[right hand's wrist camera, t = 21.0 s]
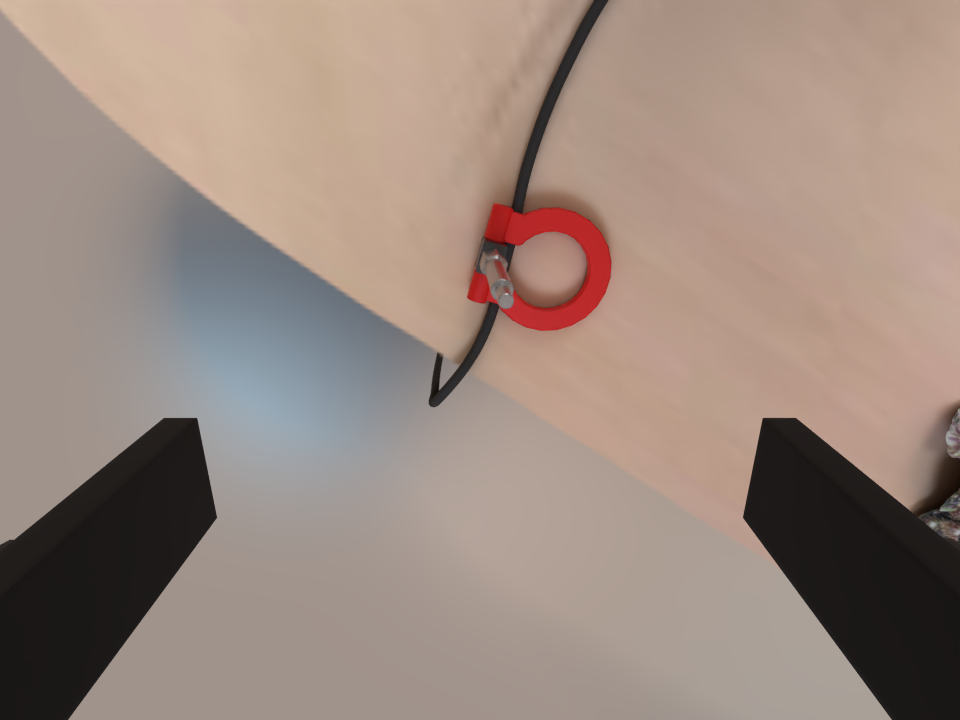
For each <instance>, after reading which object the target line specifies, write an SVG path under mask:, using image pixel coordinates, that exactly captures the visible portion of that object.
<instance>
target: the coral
mask: <svg viewBox="0 0 960 720" xmlns="http://www.w3.org/2000/svg"><path fill="white" fill-rule="evenodd" d="M946 442H947V444H948V445H947V447H948V449H947V452H948V454H949V455H950V456H951V457H953V458H960V408H959V409H958V411H957V413H956V415H955V416H954V417H953V421H952V424H951V425H950V429H949V430H948V432H947V434H946ZM940 508H941V509H937V510H933V511H930V512H927V513H925V514H922V515H920V516H918V518H919V519H921V520H922V521H923V522H924V523H926V524H927V525H928V526H929V527H930V528H932V529H933V530H934V531H935V532H937V533H938V534H939V535H940V536H942V537H943V538H952V539H954V540H956V541H958V542H959V543H960V488H959V490H958V491H957V492H956V493H955V494H953V495H952V496H951V497H949V498H948V499H947V500H946V502H945V503H944V504H943V505H942V506H941V507H940Z"/></svg>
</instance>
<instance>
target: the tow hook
mask: <svg viewBox="0 0 960 720" xmlns="http://www.w3.org/2000/svg"><path fill="white" fill-rule="evenodd" d="M513 210H514V209H512V208H510V207H507V206H504V205H501V204H496V203H494V204H493V208H492V211H491V215H490V218H489V222H488V225H487V229H486V232H485V236H483V238H482V241H481V245H480V248H479V252H478V255H477V259H476V262H475V271H474V274H473V278H472V281H471V285H470V288H469V292H468V295H467V298H468V299H470V300H472V301H474V302H477V303H486V301H489V302H493V303H496V304H498V305H499V307H500V308H501V310H502V311H503V312H504V313H505V314H506V315H507V316H508V317H510V318H511V319H512V320H513V321H515V322H517V323H519V324H521V325H523V326H525V327H527V328H531V329H536V330H541V331H545V330H558V329H562V328H565V327H569V326H572V325H573V324H575V323H577V322H579V321H580V320H582V319H584V318H585V317H586V316H587V315H589V314H590V313H591V312H592V311H593V310H594V309H595V308H596V307H597V305H598V304H599V302H600V301H601V299H602V297H603V296H604V294H605V293H606V289H607V286H608V283H609V280H610V275H611V258H610V253H609V248H608V245H607V243H606V241H605V239H604V237H603V235H602V233H601V232H600V231H599V230H598V229H597V228H596V227H595V225H594V224H593V223H592V222H591V221H590V220H588V219H586V218H585V217H583V216H581V215H579V214H578V213H576V212H574V211H570V210H566V209H562V208H558V207H556V208H540V209H537V210H533V211H530V212H527V213H525V214H521V213H517V212H514V211H513ZM555 231H556V232H560V233H565V234H567V235H569V236H571V237H573V238H574V239H575V240H576V241H577V242H578V243H579V244H580V245H581V247H582V248H583V250H584V252H585V254H586V259H587V263H588V266H587V276H586V279H585V282H584V285H583V286H582V288H581V289H580V291H579V293H578V294H577V295H576V296H575V297H574V298H573V299H571V300H570V301H568V302H566V303H565V304H563V305H560V306H557V307H554V308H540V307H536V306H532V305H531V304H529V303H527V302H525V301H524V300H523V299H522V298H520V297H519V296H518V295H517V293H516V291H515V290H514V287H513V285H512V282H511V279H510V278H509V275H508V273H507V271H506V269H507V266H508V263H507V261H506V259H505V256H506V253H507V249H508V248H507V246H506V244H505V242H507V243H511V244H514V245H518V246H519V245H522V244H523V243H524V242H525V241H526V240H528V239H530V238H531V237H533V236H534V235H537V234H540V233H543V232H555Z"/></svg>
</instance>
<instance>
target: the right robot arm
mask: <svg viewBox="0 0 960 720" xmlns="http://www.w3.org/2000/svg"><path fill="white" fill-rule="evenodd" d="M607 2H608V0H594V2H593V3H592V5H591V7H590V8H589V10H588V12H587V13H586V15H585V17H584V19H583V20H582V22H581V24H580V26H579V28H578V30H577V32H576V34H575V36H574V38H573V40H572V41H571V44H570V46H569V48H568V50H567V52H566V54H565V56H564V58H563V60H562V62H561V64H560V66H559V68H558V71H557V73H556V75H555V77H554V79H553V82H552V84H551V86H550V88H549V91H548V93H547V95H546V98H545V100H544V103H543V105H542V108H541V110H540V113H539V115H538V118H537V121H536V123H535V126H534V129H533V132H532V135H531V138H530V141H529V144H528V147H527V150H526V153H525V156H524V159H523V163H522V167H521V170H520V174H519V178H518V182H517V187H516V191H515V196H514V201H513V206H512V209H514V210H513V211H514V212H517V213H521V214H522V211H523V206H524V201H525V196H526V191H527V187H528V183H529V179H530V175H531V171H532V168H533V164H534V161H535V158H536V155H537V152H538V149H539V146H540V143H541V140H542V137H543V134H544V131H545V129H546V126H547V123H548V121H549V118H550V115H551V113H552V110H553V108H554V105H555V103H556V101H557V98H558V96H559V94H560V92H561V89H562V87H563V85H564V83H565V81H566V78H567V76H568V74H569V72H570V70H571V68H572V66H573V64H574V62H575V60H576V58H577V56H578V54H579V52H580V50H581V48H582V46H583V44H584V42H585V40H586V38H587V36H588V34H589V32H590V30H591V29H592V27H593V25H594V23H595V22H596V20H597V18H598V16H599V15H600V13H601V11H602V10H603V8H604V6H605V5H606V3H607ZM505 244H506V246H507V248H508V249H507V253H506V256H505V259H506V261H507V263H508V266H507V269H506V271H507V273H508V270H509V266H510V262H511V259H512V255H513V251H514V248H515V245H514V244H511V243H507V242H505ZM498 309H499V305H498V304H496V303H493V302H490V304H489V307H488V310H487V314H486V316H485V319H484V322H483V325H482V327H481V329H480V332H479V334H478V336H477V338H476V340H475V342H474V344H473V346H472V348H471V349H470V351H469V353H468V354H467V356H466V358H465V359H464V361H463V362H462V363H461V365H460V366H459V368H458V369H457V370H456V372H455V373H454V374H453V375H452V377H451V378H450V379H449V380H448V381H447V383H446V384H445V385H444V386H443V387H442V388H441V389H440V390H439V383H440V373H441V367H442V361H443V356H444V355H443V354H441V353H439V352H437V356H436V360H435V365H434V371H433V376H432V384H431V393H430V397H429V405H430V406H431V407H436V406H438V405H439V404H440V403H441V402H442V401H443V400H444V399H445V398H446V397H447V396H448V395H449V394H450V393H451V392H452V391H453V389H454V388H455V387H456V386H457V385H458V384H459V382H460V381H461V380H462V379H463V377H464V376H465V375H466V373H467V372H468V371H469V369H470V368H471V366H472V365H473V363H474V362H475V360H476V359H477V357H478V355H479V354H480V352H481V350H482V348H483V346H484V344H485V342H486V340H487V338H488V336H489V334H490V331H491V329H492V326H493V324H494V321H495V318H496V315H497V312H498ZM216 518H217V516H216V510H215V505H214V500H213V495H212V490H211V485H210V480H209V475H208V470H207V465H206V460H205V455H204V450H203V445H202V440H201V435H200V430H199V425H198V420H197V418H164V419H162V420H161V421H160V422H159V423H157V424H156V425H155V426H154V427H152V428H151V429H150V430H149V431H148V432H146V433H145V434H144V435H143V436H141V437H140V438H139V439H138V440H137V441H135V442H134V443H133V444H132V445H130V446H129V447H128V448H127V449H125V450H124V451H123V452H122V453H121V454H119V455H118V456H117V457H116V458H114V459H113V460H112V461H111V462H109V463H108V464H107V465H106V466H105V467H103V468H102V469H101V470H100V471H98V472H97V473H96V474H95V475H94V476H92V477H91V478H90V479H89V480H87V481H86V482H85V483H84V484H82V485H81V486H80V487H79V488H78V489H76V490H75V491H74V492H73V493H71V494H70V495H69V496H68V497H66V498H65V499H64V500H63V501H62V502H60V503H59V504H58V505H57V506H55V507H54V508H53V509H52V510H51V511H49V512H48V513H47V514H46V515H44V516H43V517H42V518H41V519H39V520H38V521H37V522H36V523H35V524H33V525H32V526H31V527H30V528H28V529H27V530H26V531H25V532H23V533H22V534H21V535H20V536H18V537H17V538H16V539H15V540H9V541H7V542H5V543H3V544H1V545H0V720H68V719H69V718H70V716H71V715H72V714H73V712H74V711H75V710H76V708H77V707H78V705H79V704H80V703H81V701H82V700H83V699H84V697H85V696H86V695H87V693H88V692H89V691H90V689H91V688H92V686H93V685H94V684H95V682H96V681H97V680H98V678H99V677H100V676H101V674H102V673H103V672H104V670H105V669H106V668H107V666H108V665H109V663H110V662H111V661H112V659H113V658H114V657H115V655H116V654H117V653H118V651H119V650H120V648H121V647H122V646H123V644H124V643H125V642H126V640H127V639H128V638H129V636H130V635H131V634H132V632H133V631H134V630H135V628H136V627H137V625H138V624H139V623H140V621H141V620H142V619H143V617H144V616H145V615H146V613H147V612H148V611H149V609H150V608H151V607H152V605H153V604H154V602H155V601H156V600H157V598H158V597H159V596H160V594H161V593H162V592H163V590H164V589H165V588H166V586H167V585H168V583H169V582H170V581H171V579H172V578H173V577H174V575H175V574H176V573H177V571H178V570H179V569H180V567H181V566H182V564H183V563H184V562H185V560H186V559H187V558H188V556H189V555H190V554H191V552H192V551H193V550H194V548H195V547H196V545H197V544H198V543H199V541H200V540H201V539H202V537H203V536H204V535H205V533H206V532H207V530H208V529H209V528H210V527H211V525H212V524H213V522H214V521H215V520H216ZM743 518H744V520H745V521H746V522H747V524H748V525H749V527H750V528H751V529H752V531H753V532H754V533H755V535H756V536H757V537H758V539H759V540H760V541H761V543H762V544H763V545H764V547H765V548H766V550H767V551H768V552H769V554H770V555H771V556H772V558H773V559H774V560H775V562H776V563H777V564H778V566H779V567H780V569H781V570H782V571H783V573H784V574H785V575H786V577H787V578H788V579H789V581H790V582H791V583H792V585H793V586H794V587H795V589H796V590H797V592H798V593H799V594H800V596H801V597H802V598H803V600H804V601H805V602H806V604H807V605H808V606H809V608H810V609H811V610H812V612H813V613H814V615H815V616H816V617H817V619H818V620H819V621H820V623H821V624H822V625H823V627H824V628H825V630H826V631H827V632H828V634H829V635H830V636H831V638H832V639H833V640H834V642H835V643H836V644H837V646H838V647H839V649H840V650H841V651H842V652H843V654H844V655H845V657H846V658H847V659H848V661H849V662H850V663H851V665H852V666H853V668H854V669H855V670H856V672H857V673H858V674H859V676H860V677H861V678H862V680H863V681H864V682H865V684H866V685H867V687H868V688H869V689H870V691H871V692H872V693H873V695H874V696H875V697H876V699H877V700H878V701H879V703H880V704H881V705H882V707H883V708H884V710H885V711H886V712H887V714H888V715H889V716H890V718H891V719H892V720H960V543H959V542H958V541H956V540H954V539H952V538H943V537H942V536H940V535H939V534H938V533H937V532H935V531H934V530H933V529H932V528H930V527H929V526H928V525H927V524H926V523H924V522H923V521H922V520H921V519H919V518H918V517H917V516H916V515H914V514H913V513H912V512H911V511H910V510H908V509H907V508H906V507H905V506H903V505H902V504H901V503H900V502H898V501H897V500H896V499H895V498H894V497H892V496H891V495H890V494H889V493H887V492H886V491H885V490H884V489H883V488H881V487H880V486H879V485H878V484H876V483H875V482H874V481H873V480H871V479H870V478H869V477H868V476H867V475H865V474H864V473H863V472H862V471H860V470H859V469H858V468H857V467H855V466H854V465H853V464H852V463H851V462H849V461H848V460H847V459H846V458H844V457H843V456H842V455H841V454H839V453H838V452H837V451H836V450H835V449H833V448H832V447H831V446H830V445H828V444H827V443H826V442H825V441H823V440H822V439H821V438H820V437H819V436H817V435H816V434H815V433H814V432H812V431H811V430H810V429H809V428H808V427H806V426H805V425H804V424H803V423H801V422H800V421H799V420H798V419H796V418H763V420H762V425H761V430H760V435H759V440H758V445H757V450H756V455H755V460H754V465H753V470H752V475H751V480H750V485H749V490H748V495H747V500H746V505H745V510H744V515H743Z"/></svg>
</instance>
